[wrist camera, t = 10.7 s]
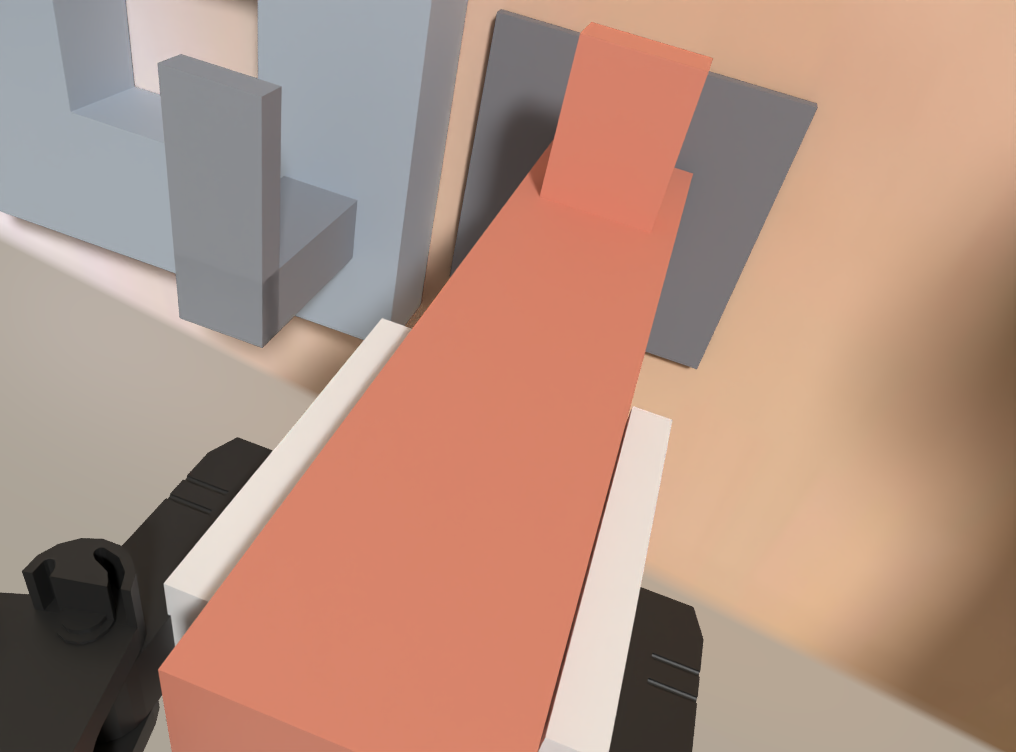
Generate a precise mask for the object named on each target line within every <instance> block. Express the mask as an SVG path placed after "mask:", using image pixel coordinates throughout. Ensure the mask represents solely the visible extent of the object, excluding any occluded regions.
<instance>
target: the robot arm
mask: <svg viewBox="0 0 1016 752" xmlns="http://www.w3.org/2000/svg"><path fill="white" fill-rule="evenodd" d="M411 330H412V329H411V328H409V327H406V326H403V325H400V324H397V323H394V322H391V321H389V320H386V319H383V318H382V319H381V320H380V321H379V322H378V324H377V325H376V326H375V327H374V329H373V330H372V331H371V332H370V333H369V335H368V336H367V337H366V338H365V340H364V341H363V342H362V343H361V344H360V346H359V347H358V348H357V349H356V350H355V352H354V353H353V354H352V355H351V357H350V358H349V359H348V360H347V361H346V363H345V364H344V365H343V366H342V367H341V369H340V370H339V371H338V372H337V374H336V375H335V376H334V377H333V378H332V380H331V381H330V382H329V383H328V384H327V386H326V387H325V388H324V389H323V391H322V392H321V393H320V394H319V395H318V397H317V398H316V399H315V400H314V401H313V403H312V404H311V405H310V406H309V408H308V409H307V410H306V411H305V412H304V414H303V415H302V416H301V417H300V419H299V420H298V421H297V422H296V423H295V425H294V426H293V427H292V428H291V429H290V431H289V432H288V433H287V434H286V436H285V437H284V438H283V439H282V440H281V442H280V443H279V444H278V445H277V446H276V448H275V449H274V450H273V451H272V450H270V449H267V448H265V447H262V446H259V445H257V444H254V443H251V442H248V441H246V440H243V439H241V438H235V439H234V440H232V441H229V442H227V443H226V444H224V445H222V446H220V447H218V448H216V449H214V450H212V451H210V452H209V453H207V454H206V456H205V457H204V458H203V459H202V460H201V461H200V462H199V463H198V464H197V465H196V467H194V469H193V470H192V471H191V472H190V473H189V474H188V475H187V478H186V480H182V482H181V483H180V484H179V485H178V486H177V487H176V488H175V489H174V490H173V491H172V492H171V494H170V497H169V498H168V499H165V500H164V501H163V502H162V503H161V504H160V505H159V506H158V507H157V509H156V510H155V511H154V512H153V513H152V514H151V515H150V516H149V517H148V518H147V519H146V520H145V522H144V523H143V524H142V525H141V526H140V527H139V528H138V529H137V530H136V532H134V534H133V535H132V536H131V537H130V538H129V539H128V540H127V541H126V542H125V543H124V544H123V545H122V546H120V545H118V544H115V543H113V542H110V541H107V540H104V539H90V538H80V539H77V540H73V541H68V542H65V543H60V544H57V545H56V546H54V547H52V548H50V549H48V550H47V551H45V552H43V553H41V554H39V555H38V556H36V557H35V558H34V559H33V560H32V561H31V562H30V563H29V565H28V566H27V567H26V568H25V569H24V570H23V571H22V573H23V576H24V579H25V582H26V585H27V588H28V591H29V594H14V593H0V752H143V751H144V748H145V747H146V744H147V742H148V740H149V738H150V735H151V733H152V731H153V729H154V726H155V724H156V720H157V716H158V712H159V701H158V700H159V699H160V697H161V696H162V690H161V684H160V678H159V672H158V669H159V668H160V666H161V665H162V664H163V662H164V661H165V660H166V658H167V657H168V656H169V654H170V653H171V652H172V650H173V649H174V647H175V646H176V645H177V643H178V642H179V641H180V639H181V638H182V637H183V635H184V634H185V633H186V631H187V630H188V629H189V627H190V626H191V625H192V623H193V622H194V621H195V619H196V618H197V617H198V615H199V614H200V613H201V611H202V610H203V609H204V607H205V606H206V605H207V603H208V602H209V601H210V599H211V598H212V597H213V595H214V594H215V593H216V591H217V590H218V588H219V587H220V586H221V584H222V583H223V582H224V580H225V579H226V578H227V576H228V575H229V574H230V572H231V571H232V570H233V568H234V567H235V566H236V564H237V563H238V562H239V560H240V559H241V558H242V556H243V555H244V554H245V552H246V551H247V550H248V548H249V547H250V546H251V544H252V543H253V542H254V540H255V539H256V538H257V536H258V535H259V534H260V532H261V531H262V530H263V528H264V527H265V525H266V524H267V523H268V521H269V520H270V519H271V517H272V516H273V515H274V513H275V512H276V511H277V509H278V508H279V507H280V505H281V504H282V503H283V501H284V500H285V499H286V497H287V496H288V495H289V493H290V492H291V491H292V489H293V488H294V487H295V485H296V484H297V483H298V481H299V480H300V479H301V477H302V476H303V475H304V473H305V472H306V471H307V469H308V468H309V467H310V465H311V464H312V462H313V461H314V460H315V458H316V457H317V456H318V454H319V453H320V452H321V450H322V449H323V448H324V446H325V445H326V444H327V442H328V441H329V440H330V438H331V437H332V436H333V434H334V433H335V432H336V430H337V429H338V428H339V426H340V425H341V424H342V422H343V421H344V420H345V418H346V417H347V416H348V414H349V413H350V412H351V410H352V409H353V408H354V406H355V405H356V403H357V402H358V401H359V399H360V398H361V397H362V395H363V394H364V393H365V391H366V390H367V389H368V387H369V386H370V385H371V383H372V382H373V381H374V379H375V378H376V377H377V375H378V374H379V373H380V371H381V370H382V369H383V367H384V366H385V365H386V363H387V362H388V361H389V359H390V358H391V357H392V355H393V354H394V353H395V351H396V350H397V349H398V347H399V346H400V345H401V343H402V342H403V340H404V339H405V338H406V336H407V335H408V334H409V332H410V331H411ZM671 424H672V420H671V419H668V418H665V417H663V416H660V415H657V414H654V413H651V412H648V411H645V410H643V409H640V408H637V407H634V406H633V407H632V410H631V412H630V414H629V417H628V419H627V422H626V425H625V428H624V432H623V436H622V439H621V443H620V447H619V451H618V454H617V458H616V462H615V465H614V469H613V473H612V477H611V480H610V484H609V488H608V491H607V495H606V499H605V503H604V506H603V510H602V514H601V517H600V521H599V525H598V529H597V532H596V536H595V540H594V543H593V547H592V551H591V555H590V558H589V562H588V566H587V569H586V573H585V577H584V581H583V584H582V588H581V592H580V596H579V599H578V603H577V607H576V610H575V614H574V618H573V622H572V625H571V629H570V633H569V636H568V640H567V644H566V648H565V651H564V655H563V659H562V662H561V666H560V670H559V674H558V677H557V681H556V685H555V688H554V692H553V696H552V700H551V703H550V707H549V711H548V714H547V718H546V722H545V726H544V729H543V733H542V737H541V740H540V744H539V748H538V752H692V747H693V736H694V726H695V716H696V708H697V703H696V699H697V697H698V687H699V672H700V668H701V657H702V648H703V636H702V633H701V630H700V627H699V624H698V620H697V617H696V614H695V610H694V608H693V607H692V606H689V605H686V604H684V603H681V602H678V601H676V600H673V599H671V598H668V597H665V596H663V595H660V594H657V593H655V592H652V591H649V590H647V589H644V588H641V587H640V586H641V581H642V576H643V571H644V565H645V560H646V555H647V550H648V544H649V539H650V534H651V529H652V524H653V518H654V513H655V508H656V503H657V498H658V492H659V487H660V482H661V477H662V471H663V466H664V461H665V456H666V451H667V445H668V440H669V435H670V430H671Z"/></svg>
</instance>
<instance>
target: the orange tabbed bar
mask: <svg viewBox="0 0 1016 752" xmlns="http://www.w3.org/2000/svg"><path fill="white" fill-rule="evenodd" d="M712 60H713V58H711V57H707V56H704V55H701V54H697V53H694V52H690V51H687V50H684V49H680V48H677V47H674V46H670V45H667V44H664V43H660V42H657V41H653V40H650V39H647V38H643V37H640V36H637V35H633V34H630V33H627V32H623V31H620V30H616V29H613V28H610V27H606V26H603V25H600V24H596V23H593V22H591V23H590V24H589V25H588V26H587V27H586V28H585V29H584V30H583V31H582V32H581V33H580V36H579V40H578V44H577V48H576V52H575V56H574V60H573V64H572V68H571V72H570V76H569V80H568V84H567V88H566V92H565V96H564V100H563V104H562V109H561V113H560V117H559V121H558V125H557V129H556V133H555V137H554V139H553V141H552V142H551V143H550V145H549V146H548V147H547V149H546V150H545V151H544V153H543V154H542V155H541V157H540V158H539V160H538V161H537V162H536V164H535V165H534V166H533V168H532V169H531V170H530V172H529V173H528V174H527V176H526V177H525V178H524V180H523V181H522V182H521V184H520V185H519V186H518V188H517V189H516V190H515V192H514V193H513V194H512V196H511V197H510V198H509V200H508V201H507V202H506V204H505V205H504V206H503V208H502V209H501V210H500V212H499V213H498V214H497V216H496V217H495V218H494V220H493V221H492V223H491V224H490V225H489V227H488V228H487V229H486V231H485V232H484V233H483V235H482V236H481V237H480V239H479V240H478V241H477V243H476V244H475V245H474V247H473V248H472V249H471V251H470V252H469V253H468V255H467V256H466V257H465V259H464V260H463V261H462V263H461V264H460V265H459V267H458V268H457V269H456V271H455V272H454V273H453V275H452V276H451V277H450V279H449V280H448V282H447V283H446V284H445V286H444V287H443V288H442V290H441V291H440V292H439V294H438V295H437V296H436V298H435V299H434V300H433V302H432V303H431V304H430V306H429V307H428V308H427V310H426V311H425V312H424V314H423V315H422V316H421V318H420V319H419V320H418V322H417V323H416V324H415V326H414V327H413V328H412V330H411V331H410V332H409V334H408V335H407V336H406V338H405V339H404V340H403V342H402V343H401V345H400V346H399V347H398V349H397V350H396V351H395V353H394V354H393V355H392V357H391V358H390V359H389V361H388V362H387V363H386V365H385V366H384V367H383V369H382V370H381V371H380V373H379V374H378V375H377V377H376V378H375V379H374V381H373V382H372V383H371V385H370V386H369V387H368V389H367V390H366V391H365V393H364V394H363V395H362V397H361V398H360V399H359V401H358V402H357V403H356V405H355V406H354V408H353V409H352V410H351V412H350V413H349V414H348V416H347V417H346V418H345V420H344V421H343V422H342V424H341V425H340V426H339V428H338V429H337V430H336V432H335V433H334V434H333V436H332V437H331V438H330V440H329V441H328V442H327V444H326V445H325V446H324V448H323V449H322V450H321V452H320V453H319V454H318V456H317V457H316V458H315V460H314V461H313V462H312V464H311V465H310V467H309V468H308V469H307V471H306V472H305V473H304V475H303V476H302V477H301V479H300V480H299V481H298V483H297V484H296V485H295V487H294V488H293V489H292V491H291V492H290V493H289V495H288V496H287V497H286V499H285V500H284V501H283V503H282V504H281V505H280V507H279V508H278V509H277V511H276V512H275V513H274V515H273V516H272V517H271V519H270V520H269V521H268V523H267V524H266V525H265V527H264V528H263V530H262V531H261V532H260V534H259V535H258V536H257V538H256V539H255V540H254V542H253V543H252V544H251V546H250V547H249V548H248V550H247V551H246V552H245V554H244V555H243V556H242V558H241V559H240V560H239V562H238V563H237V564H236V566H235V567H234V568H233V570H232V571H231V572H230V574H229V575H228V576H227V578H226V579H225V580H224V582H223V583H222V584H221V586H220V587H219V588H218V590H217V591H216V593H215V594H214V595H213V597H212V598H211V599H210V601H209V602H208V603H207V605H206V606H205V607H204V609H203V610H202V611H201V613H200V614H199V615H198V617H197V618H196V619H195V621H194V622H193V623H192V625H191V626H190V627H189V629H188V630H187V631H186V633H185V634H184V635H183V637H182V638H181V639H180V641H179V642H178V643H177V645H176V646H175V647H174V649H173V650H172V652H171V653H170V654H169V656H168V657H167V658H166V660H165V661H164V662H163V664H162V665H161V666H160V668H159V669H158V672H159V678H160V684H161V690H162V696H163V701H164V707H165V713H166V719H167V725H168V731H169V737H170V743H171V749H172V752H538V748H539V744H540V740H541V737H542V733H543V729H544V726H545V722H546V718H547V714H548V711H549V707H550V703H551V700H552V696H553V692H554V688H555V685H556V681H557V677H558V674H559V670H560V666H561V662H562V659H563V655H564V651H565V648H566V644H567V640H568V636H569V633H570V629H571V625H572V622H573V618H574V614H575V610H576V607H577V603H578V599H579V596H580V592H581V588H582V584H583V581H584V577H585V573H586V569H587V566H588V562H589V558H590V555H591V551H592V547H593V543H594V540H595V536H596V532H597V529H598V525H599V521H600V517H601V514H602V510H603V506H604V503H605V499H606V495H607V491H608V488H609V484H610V480H611V477H612V473H613V469H614V465H615V462H616V458H617V454H618V451H619V447H620V443H621V439H622V436H623V432H624V428H625V425H626V421H627V417H628V413H629V410H630V406H631V402H632V399H633V395H634V391H635V387H636V384H637V380H638V376H639V373H640V369H641V365H642V361H643V358H644V354H645V350H646V347H647V343H648V339H649V335H650V332H651V328H652V324H653V321H654V317H655V313H656V309H657V306H658V302H659V298H660V295H661V291H662V287H663V283H664V280H665V276H666V272H667V268H668V265H669V261H670V257H671V254H672V250H673V246H674V242H675V239H676V235H677V231H678V228H679V224H680V220H681V216H682V213H683V209H684V205H685V202H686V198H687V194H688V190H689V187H690V183H691V179H692V176H693V173H690V172H686V171H683V170H680V169H677V168H674V167H675V164H676V161H677V158H678V156H679V153H680V150H681V147H682V144H683V142H684V139H685V136H686V133H687V131H688V128H689V125H690V122H691V119H692V117H693V114H694V111H695V108H696V106H697V103H698V100H699V97H700V94H701V92H702V89H703V86H704V83H705V81H706V78H707V75H708V72H709V69H710V66H711V63H712Z"/></svg>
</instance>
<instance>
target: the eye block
mask: <svg viewBox="0 0 1016 752" xmlns="http://www.w3.org/2000/svg"><path fill="white" fill-rule="evenodd" d="M467 3H468V0H258V79H257V78H254V77H251V76H248V75H245V74H242V73H238V72H235V71H232V70H229V69H226V68H223V67H220V66H217V65H213V64H210V63H207V62H204V61H201V60H198V59H195V58H192V57H188V56H185V55H182V54H180V55H178V56H175V57H173V58H170V59H167V60H165V61H162V62H159V63H158V73H159V85H160V95H159V94H156V93H152V92H149V91H146V90H143V89H140V88H137V87H135V86H134V77H133V67H132V58H131V49H130V39H129V30H128V21H127V11H126V2H125V0H0V211H1V212H4V213H6V214H9V215H12V216H15V217H18V218H21V219H23V220H26V221H29V222H32V223H35V224H38V225H40V226H43V227H46V228H49V229H52V230H55V231H57V232H60V233H63V234H66V235H69V236H71V237H74V238H77V239H80V240H83V241H86V242H88V243H91V244H94V245H97V246H100V247H103V248H105V249H108V250H111V251H114V252H117V253H119V254H122V255H125V256H128V257H131V258H134V259H136V260H139V261H142V262H145V263H148V264H151V265H153V266H156V267H159V268H162V269H165V270H168V271H170V272H173V273H176V282H177V293H178V305H179V317H180V318H181V319H184V320H186V321H189V322H192V323H195V324H197V325H200V326H203V327H206V328H209V329H211V330H214V331H217V332H220V333H222V334H225V335H228V336H231V337H234V338H236V339H239V340H242V341H245V342H247V343H250V344H253V345H256V346H258V347H261V348H263V347H264V346H265V345H266V344H267V343H268V342H269V341H270V340H271V339H272V338H273V337H274V336H275V335H276V334H277V333H278V332H279V331H280V330H281V329H282V328H283V327H284V326H285V325H286V324H287V323H288V322H289V321H290V320H291V319H292V318H293V317H294V316H298V317H300V318H303V319H306V320H309V321H312V322H314V323H317V324H320V325H323V326H326V327H329V328H331V329H334V330H337V331H340V332H343V333H346V334H348V335H351V336H354V337H357V338H360V339H363V340H365V338H366V337H367V336H368V335H369V333H370V332H371V331H372V330H373V329H374V327H375V326H376V325H377V324H378V322H379V321H380V320H381V319H382V318H383V319H386V320H389V321H391V322H394V323H397V324H400V325H403V326H405V324H406V323H407V322H408V320H409V319H410V318H411V317H412V315H413V314H414V313H415V311H416V310H417V309H418V307H419V306H420V305H421V299H422V292H423V286H424V279H425V273H426V266H427V260H428V254H429V247H430V241H431V234H432V228H433V221H434V215H435V209H436V202H437V196H438V189H439V183H440V176H441V170H442V163H443V157H444V151H445V144H446V138H447V131H448V125H449V118H450V112H451V106H452V99H453V93H454V86H455V80H456V73H457V67H458V61H459V54H460V48H461V41H462V35H463V28H464V22H465V16H466V9H467Z"/></svg>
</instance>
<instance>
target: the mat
mask: <svg viewBox="0 0 1016 752" xmlns="http://www.w3.org/2000/svg"><path fill="white" fill-rule="evenodd" d="M579 36H580V33H579V32H576V31H572V30H569V29H566V28H562V27H559V26H556V25H552V24H549V23H546V22H542V21H539V20H536V19H532V18H529V17H526V16H522V15H519V14H516V13H512V12H509V11H506V10H502V9H501V10H499V11H498V12H497V16H496V21H495V27H494V32H493V38H492V44H491V49H490V55H489V60H488V66H487V71H486V77H485V83H484V88H483V94H482V99H481V105H480V110H479V116H478V122H477V127H476V133H475V138H474V144H473V149H472V155H471V161H470V166H469V172H468V177H467V183H466V188H465V194H464V200H463V205H462V211H461V216H460V222H459V227H458V233H457V239H456V244H455V250H454V255H453V261H452V266H451V272H450V277H451V276H452V275H453V273H454V272H455V271H456V269H457V268H458V267H459V265H460V264H461V263H462V261H463V260H464V259H465V257H466V256H467V255H468V253H469V252H470V251H471V249H472V248H473V247H474V245H475V244H476V243H477V241H478V240H479V239H480V237H481V236H482V235H483V233H484V232H485V231H486V229H487V228H488V227H489V225H490V224H491V223H492V221H493V220H494V218H495V217H496V216H497V214H498V213H499V212H500V210H501V209H502V208H503V206H504V205H505V204H506V202H507V201H508V200H509V198H510V197H511V196H512V194H513V193H514V192H515V190H516V189H517V188H518V186H519V185H520V184H521V182H522V181H523V180H524V178H525V177H526V176H527V174H528V173H529V172H530V170H531V169H532V168H533V166H534V165H535V164H536V162H537V161H538V160H539V158H540V157H541V155H542V154H543V153H544V151H545V150H546V149H547V147H548V146H549V145H550V143H551V142H552V141H553V139H554V137H555V133H556V129H557V125H558V121H559V117H560V113H561V109H562V104H563V100H564V96H565V92H566V88H567V84H568V80H569V76H570V72H571V68H572V64H573V60H574V56H575V52H576V48H577V44H578V40H579ZM816 110H817V103H814V102H810V101H807V100H803V99H800V98H797V97H793V96H790V95H787V94H783V93H780V92H777V91H773V90H770V89H767V88H763V87H760V86H757V85H753V84H750V83H747V82H743V81H740V80H737V79H733V78H730V77H726V76H723V75H720V74H716V73H713V72H710V71H709V72H708V75H707V78H706V81H705V83H704V86H703V89H702V92H701V94H700V97H699V100H698V103H697V106H696V108H695V111H694V114H693V117H692V119H691V122H690V125H689V128H688V131H687V133H686V136H685V139H684V142H683V144H682V147H681V150H680V153H679V156H678V158H677V161H676V164H675V167H674V168H677V169H680V170H683V171H686V172H690V173H693V176H692V179H691V183H690V187H689V190H688V194H687V198H686V202H685V205H684V209H683V213H682V216H681V220H680V224H679V228H678V231H677V235H676V239H675V242H674V246H673V250H672V254H671V257H670V261H669V265H668V268H667V272H666V276H665V280H664V283H663V287H662V291H661V295H660V298H659V302H658V306H657V309H656V313H655V317H654V321H653V324H652V328H651V332H650V335H649V339H648V343H647V347H646V350H645V352H648V353H651V354H654V355H657V356H660V357H663V358H666V359H669V360H671V361H674V362H677V363H680V364H683V365H686V366H689V367H692V368H695V369H697V368H698V366H699V363H700V361H701V359H702V357H703V355H704V353H705V350H706V348H707V346H708V344H709V342H710V340H711V337H712V335H713V333H714V331H715V329H716V327H717V324H718V322H719V320H720V318H721V316H722V314H723V311H724V309H725V307H726V305H727V303H728V301H729V298H730V296H731V294H732V292H733V290H734V288H735V285H736V283H737V281H738V279H739V277H740V275H741V272H742V270H743V268H744V266H745V264H746V262H747V259H748V257H749V255H750V253H751V251H752V249H753V246H754V244H755V242H756V240H757V238H758V236H759V233H760V231H761V229H762V227H763V225H764V223H765V220H766V218H767V216H768V214H769V212H770V210H771V207H772V205H773V203H774V201H775V199H776V197H777V194H778V192H779V190H780V188H781V186H782V184H783V181H784V179H785V177H786V175H787V173H788V171H789V168H790V166H791V164H792V162H793V160H794V158H795V155H796V153H797V151H798V149H799V147H800V144H801V142H802V140H803V138H804V136H805V134H806V131H807V129H808V127H809V125H810V123H811V121H812V118H813V116H814V114H815V112H816ZM449 279H450V278H449Z"/></svg>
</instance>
